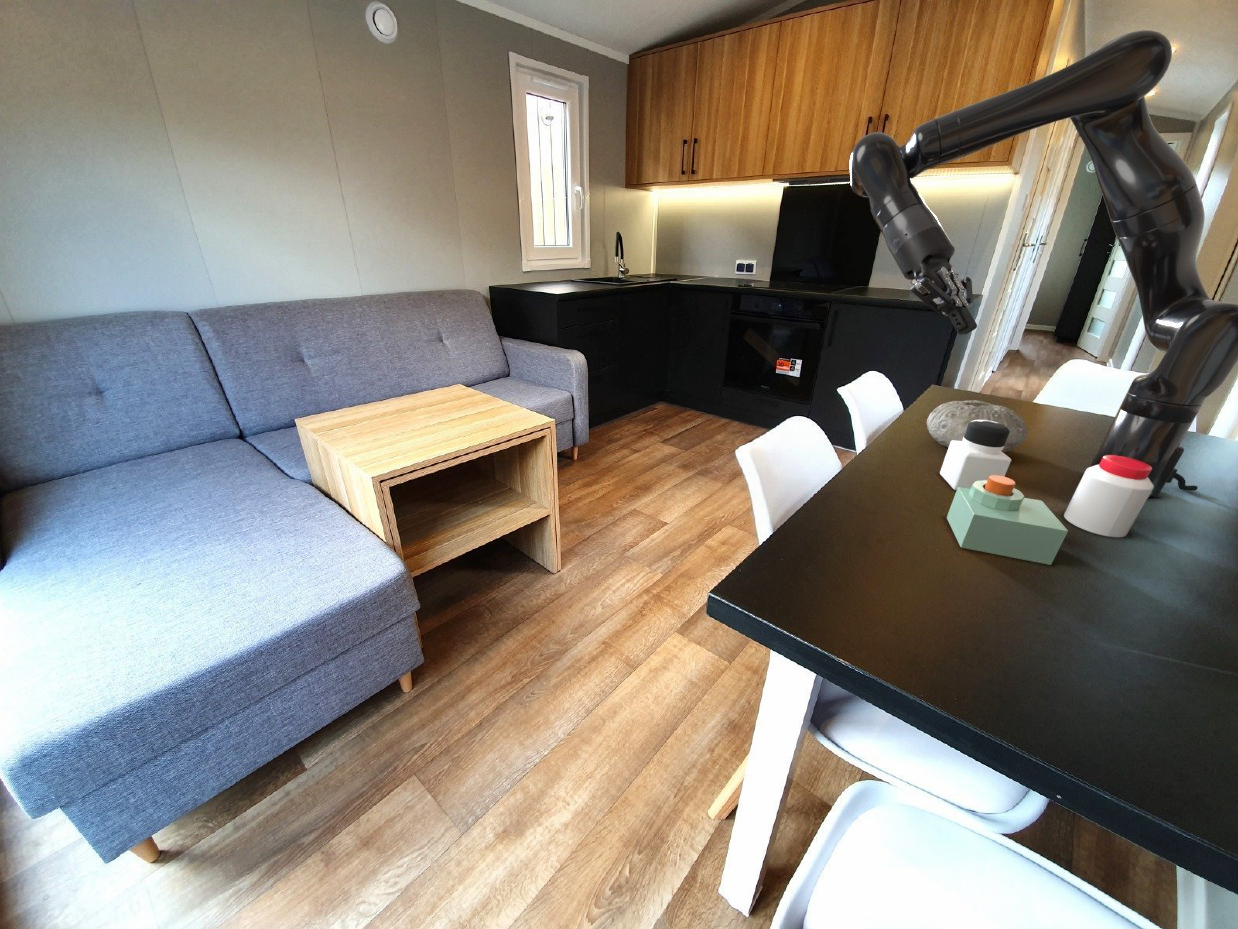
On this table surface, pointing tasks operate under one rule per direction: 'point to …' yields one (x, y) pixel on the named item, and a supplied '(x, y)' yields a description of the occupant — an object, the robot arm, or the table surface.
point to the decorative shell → (956, 415)
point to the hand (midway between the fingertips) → (968, 331)
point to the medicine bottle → (976, 455)
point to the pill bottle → (1110, 496)
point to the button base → (1005, 524)
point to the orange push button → (1000, 485)
